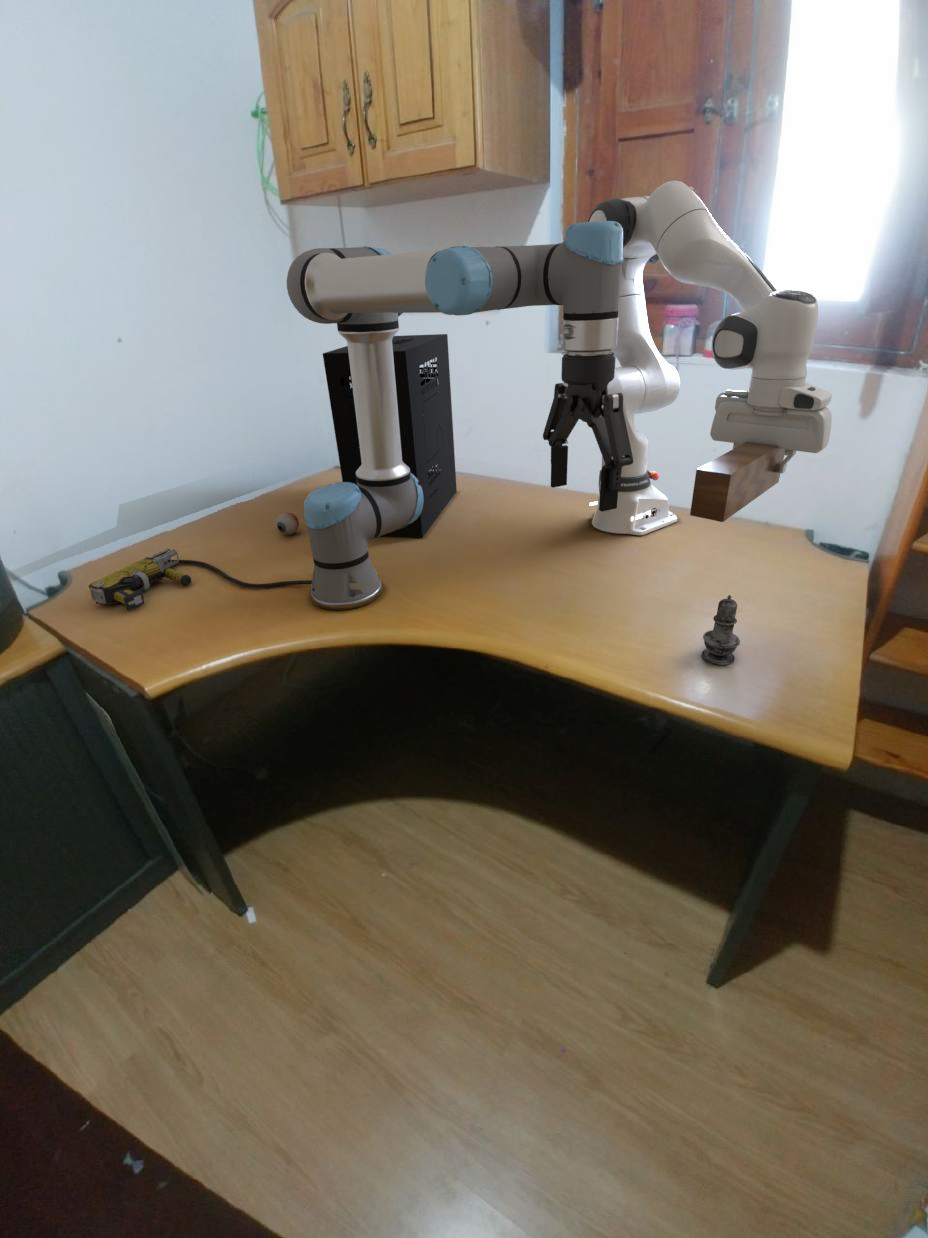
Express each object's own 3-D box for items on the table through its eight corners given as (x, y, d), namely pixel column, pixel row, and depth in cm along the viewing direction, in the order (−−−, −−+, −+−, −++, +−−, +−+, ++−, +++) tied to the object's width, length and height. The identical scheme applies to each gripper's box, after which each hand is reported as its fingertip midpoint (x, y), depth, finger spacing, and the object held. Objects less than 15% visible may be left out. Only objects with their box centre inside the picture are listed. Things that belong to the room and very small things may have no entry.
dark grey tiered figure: (739, 667, 101) (752, 604, 95) (702, 664, 102) (713, 602, 96) (733, 648, 106) (745, 587, 100) (697, 646, 107) (708, 585, 101)
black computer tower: (422, 537, 158) (405, 350, 135) (350, 534, 162) (322, 353, 140) (456, 491, 189) (447, 333, 167) (395, 489, 194) (378, 336, 171)
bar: (748, 477, 120) (756, 436, 116) (778, 482, 117) (787, 439, 113) (689, 515, 104) (696, 469, 100) (722, 522, 100) (731, 474, 96)
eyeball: (273, 537, 164) (268, 516, 161) (287, 528, 169) (282, 508, 166) (291, 539, 161) (286, 518, 158) (305, 530, 166) (301, 510, 163)
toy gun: (215, 556, 146) (165, 546, 150) (137, 598, 126) (82, 584, 130) (218, 574, 148) (168, 563, 152) (142, 617, 128) (87, 603, 132)
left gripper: (522, 347, 94) (522, 480, 105) (622, 363, 74) (610, 526, 85) (563, 343, 96) (559, 473, 107) (670, 357, 77) (653, 515, 87)
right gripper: (710, 391, 113) (700, 465, 120) (831, 400, 100) (812, 482, 107) (724, 386, 117) (713, 457, 123) (842, 394, 104) (822, 473, 111)
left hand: (581, 497), depth 96 cm, fingers open, 13 cm apart
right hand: (760, 469), depth 115 cm, fingers closed on bar, 6 cm apart
